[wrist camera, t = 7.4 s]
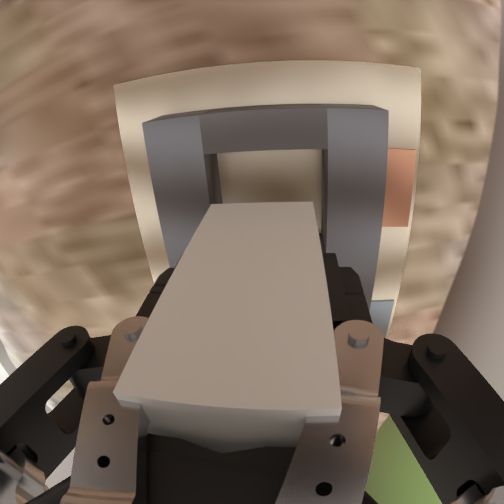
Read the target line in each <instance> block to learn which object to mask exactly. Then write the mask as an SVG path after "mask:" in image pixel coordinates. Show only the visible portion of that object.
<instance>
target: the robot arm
mask: <svg viewBox="0 0 504 504" xmlns="http://www.w3.org/2000/svg"><path fill="white" fill-rule="evenodd" d="M322 256H323V262H324V268H325V274H326V281H327V287H328V294H329V301H330V308H331V315H332V323H333V330H334V338H335V347H336V355H337V364H338V373H339V383H340V393H341V404H342V410H341V414H340V415H339V416H307V418H306V421H305V424H304V427H303V430H302V433H301V436H300V439H299V441H298V444H297V447H260V448H254V449H248V450H242V451H235V452H227V453H219V452H215V451H212V450H209V449H207V448H204V447H201V446H198V445H196V444H193V443H190V442H188V441H185V440H183V439H179V438H173V437H166V436H160V435H155V434H149V433H148V426H149V423H150V422H151V421H150V420H149V418H148V416H147V415H146V413H145V411H144V409H143V408H142V406H141V404H140V403H134V402H129V401H123V400H118V399H117V398H116V397H115V395H114V393H113V391H114V389H115V387H116V384H117V382H118V380H119V378H120V376H121V374H122V372H123V370H124V368H125V365H126V363H127V361H128V359H129V357H130V355H131V353H132V351H133V349H134V347H135V345H136V343H137V341H138V339H139V337H140V335H141V333H142V331H143V329H144V327H145V325H146V323H147V321H148V319H149V317H150V315H151V313H152V311H153V309H154V307H155V305H156V304H157V302H158V300H159V298H160V296H161V294H162V292H163V290H164V288H165V286H166V285H167V283H168V281H169V279H170V277H171V275H172V273H173V271H174V270H175V268H176V266H177V264H178V262H179V261H178V262H177V264H176V266H175V268H168V269H167V270H165V271H164V272H163V273H162V274H160V275H159V276H158V278H157V280H156V282H155V283H154V286H153V287H152V288H151V290H150V294H148V295H147V297H146V299H145V301H144V302H143V304H142V306H141V308H140V310H139V311H138V313H137V315H136V317H131V318H127V319H125V320H123V321H121V322H120V323H119V324H117V325H116V326H115V328H114V329H113V331H112V334H111V335H109V336H102V337H95V338H90V336H89V334H88V332H87V330H86V329H85V328H83V327H81V326H70V327H67V328H64V329H62V330H61V331H59V332H58V333H57V334H56V335H54V336H53V337H52V338H51V339H50V340H49V341H48V342H46V343H45V344H44V345H43V346H42V347H41V348H40V349H39V350H37V351H36V352H35V353H34V354H33V355H32V356H31V357H30V358H29V359H27V360H26V361H25V362H24V363H23V364H22V365H21V366H20V367H19V368H18V369H16V370H15V371H14V372H13V373H12V374H11V375H10V376H9V377H8V378H7V379H6V380H5V381H4V382H3V383H1V384H0V504H378V503H377V502H376V501H375V500H374V499H373V498H372V497H371V496H370V495H369V494H368V493H367V492H366V491H365V487H366V483H367V478H368V474H369V469H370V464H371V459H372V454H373V449H374V442H375V437H376V431H377V425H378V418H379V412H384V413H389V414H390V416H391V418H392V419H393V421H394V423H395V424H396V426H397V427H398V429H399V431H400V433H401V434H402V436H403V438H404V439H405V441H406V442H407V444H408V446H409V447H410V449H411V451H412V452H413V454H414V456H415V457H416V459H417V461H418V463H419V464H420V466H421V468H422V469H423V471H424V473H425V474H426V476H427V478H428V479H429V481H430V483H431V485H432V486H433V488H434V490H435V492H436V493H437V495H438V497H439V499H440V500H441V502H442V504H504V401H503V400H502V399H501V398H500V396H499V395H498V394H497V393H496V391H495V390H494V389H493V388H492V387H491V385H490V384H489V383H488V382H487V381H486V379H485V378H484V377H483V376H482V375H481V374H480V372H479V371H478V370H477V369H476V368H475V367H474V365H473V364H472V363H471V362H470V361H469V360H468V358H467V357H466V356H465V355H464V354H463V353H462V352H461V351H460V349H458V347H457V346H456V345H455V344H454V343H453V342H452V341H451V340H449V339H448V338H446V337H444V336H442V335H439V334H425V335H422V336H420V337H418V338H417V339H416V340H415V341H414V343H413V345H408V344H403V343H398V342H394V341H391V340H388V339H386V338H384V337H383V334H382V332H381V330H380V329H379V328H378V327H377V326H375V325H374V324H373V323H372V319H371V316H370V312H369V308H368V305H367V301H366V298H365V295H364V291H363V287H362V284H361V281H360V277H359V275H358V274H357V273H356V272H355V271H354V270H353V269H352V268H351V267H339V265H338V261H337V257H336V253H322ZM181 257H182V255H181ZM181 257H180V259H181ZM180 259H179V260H180ZM68 380H70V382H71V383H72V385H73V386H74V389H73V390H72V391H71V392H70V393H69V394H68V395H67V396H66V397H65V398H64V399H63V400H62V401H61V402H60V403H59V404H58V405H57V406H56V407H55V408H54V409H53V410H52V411H51V412H50V413H48V414H47V413H46V411H45V405H46V403H47V401H48V400H49V398H50V397H51V396H52V395H53V394H54V393H55V392H56V391H57V390H58V389H59V388H60V387H61V386H62V385H63V384H64V383H65V382H66V381H68ZM74 447H75V453H74V459H73V466H72V473H71V476H69V477H68V478H66V479H65V480H63V481H62V482H60V483H58V484H57V485H55V486H54V487H52V488H50V489H49V488H48V487H47V485H45V480H46V479H47V478H48V477H49V476H50V474H51V473H52V472H53V471H54V470H55V469H56V467H58V465H59V464H60V463H61V462H62V461H63V460H64V459H65V458H66V456H67V455H68V454H69V453H70V452H71V451H72V450H73V449H74Z"/></svg>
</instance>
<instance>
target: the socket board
mask: <svg viewBox="0 0 504 504" xmlns="http://www.w3.org/2000/svg"><path fill="white" fill-rule="evenodd" d="M113 88H114V95H115V103H116V110H117V116H118V123H119V129H120V135H121V141H122V147H123V152H124V158H125V163H126V168H127V173H128V178H129V183H130V188H131V193H132V198H133V202H134V207H135V211H136V215H137V220H138V224H139V228H140V232H141V236H142V240H143V244H144V248H145V252H146V256H147V260H148V263H149V267H150V271H151V274H152V278H153V282H154V283H155V282H156V280H157V278H158V276H159V275H160V274H162V273H163V272H164V271H165V270H167V269H168V268H175V266H176V264H177V262H178V261H179V259H180V257H181V255H183V253H184V251H185V250H186V248H187V246H188V244H189V242H190V241H191V239H192V237H193V235H194V233H195V232H196V230H197V228H198V226H199V225H200V223H201V221H202V219H203V218H204V216H205V214H206V212H207V211H208V209H209V207H210V205H211V204H228V203H260V202H313V205H314V210H315V216H316V221H317V227H318V232H319V238H320V244H321V250H322V253H336V257H337V261H338V265H339V267H351V268H352V269H353V270H354V271H355V272H356V273H357V274H358V275H359V277H360V281H361V284H362V287H363V291H364V295H365V298H366V301H367V305H368V308H369V312H370V316H371V319H372V323H373V324H374V325H375V326H377V327H378V328H379V329H380V330H381V332H382V334H383V337H384V338H386V339H388V335H389V331H390V327H391V324H392V320H393V316H394V311H395V307H396V303H397V298H398V294H399V289H400V285H401V280H402V275H403V270H404V265H405V259H406V254H407V248H408V242H409V236H410V229H411V223H412V216H413V208H414V200H415V191H416V182H417V171H418V159H419V145H420V124H421V68H417V67H409V66H401V65H392V64H382V63H371V62H356V61H331V60H292V61H267V62H252V63H240V64H229V65H220V66H212V67H204V68H197V69H190V70H184V71H178V72H172V73H166V74H161V75H156V76H151V77H146V78H141V79H137V80H132V81H128V82H124V83H120V84H116V85H113Z"/></svg>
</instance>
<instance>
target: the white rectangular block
mask: <svg viewBox="0 0 504 504" xmlns="http://www.w3.org/2000/svg"><path fill="white" fill-rule="evenodd" d="M113 393H114V395H115V397H116V398H117V399H118V400H123V401H129V402H134V403H140V404H141V406H142V408H143V409H144V411H145V413H146V415H147V416H148V418H149V420H150V421H151V422H150V423H149V426H148V433H149V434H155V435H160V436H166V437H173V438H179V439H183V440H185V441H188V442H190V443H193V444H196V445H198V446H201V447H204V448H207V449H209V450H212V451H215V452H219V453H227V452H235V451H242V450H248V449H254V448H260V447H297V444H298V441H299V439H300V436H301V433H302V430H303V427H304V424H305V421H306V418H307V416H339V415H340V414H341V410H342V404H341V393H340V383H339V373H338V364H337V355H336V347H335V338H334V330H333V323H332V315H331V308H330V301H329V294H328V287H327V281H326V274H325V268H324V262H323V256H322V250H321V244H320V238H319V232H318V227H317V221H316V216H315V210H314V205H313V202H260V203H228V204H211V205H210V207H209V209H208V211H207V212H206V214H205V216H204V218H203V219H202V221H201V223H200V225H199V226H198V228H197V230H196V232H195V233H194V235H193V237H192V239H191V241H190V242H189V244H188V246H187V248H186V250H185V251H184V253H183V255H182V257H181V259H180V260H179V262H178V264H177V266H176V268H175V270H174V271H173V273H172V275H171V277H170V279H169V281H168V283H167V285H166V286H165V288H164V290H163V292H162V294H161V296H160V298H159V300H158V302H157V304H156V305H155V307H154V309H153V311H152V313H151V315H150V317H149V319H148V321H147V323H146V325H145V327H144V329H143V331H142V333H141V335H140V337H139V339H138V341H137V343H136V345H135V347H134V349H133V351H132V353H131V355H130V357H129V359H128V361H127V363H126V365H125V368H124V370H123V372H122V374H121V376H120V378H119V380H118V382H117V384H116V387H115V389H114V391H113Z"/></svg>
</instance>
